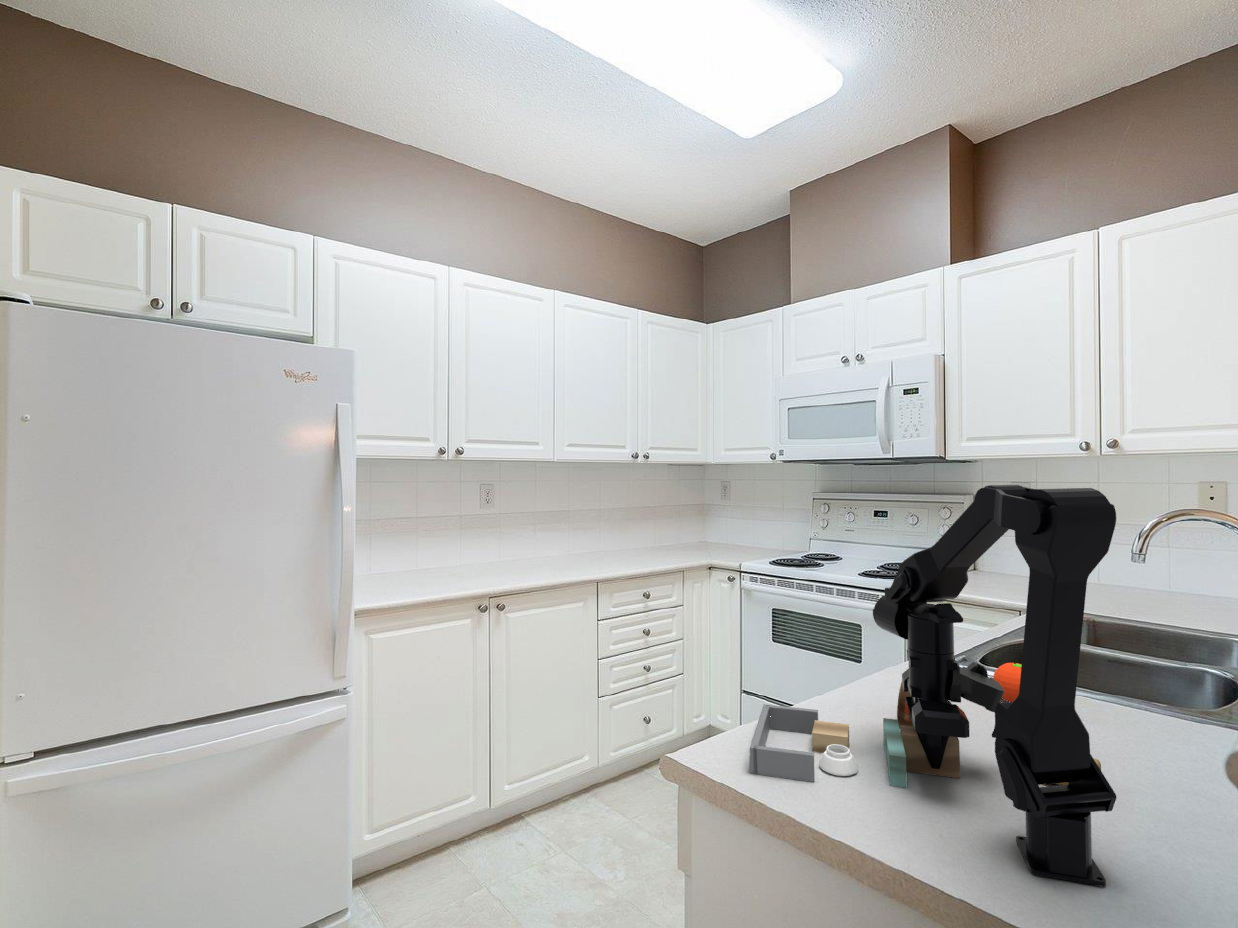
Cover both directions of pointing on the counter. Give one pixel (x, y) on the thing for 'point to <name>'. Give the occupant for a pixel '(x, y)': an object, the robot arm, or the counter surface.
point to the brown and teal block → (914, 754)
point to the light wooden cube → (829, 735)
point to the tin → (903, 708)
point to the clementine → (1009, 680)
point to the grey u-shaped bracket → (778, 759)
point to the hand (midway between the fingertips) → (933, 761)
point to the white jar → (838, 761)
